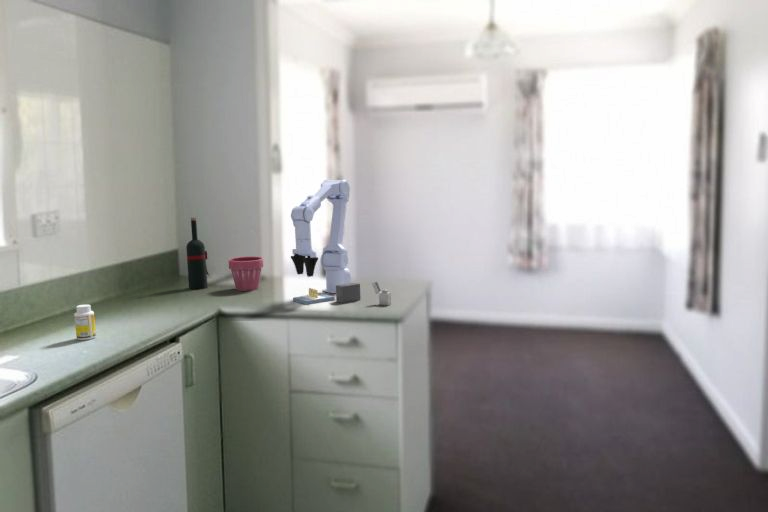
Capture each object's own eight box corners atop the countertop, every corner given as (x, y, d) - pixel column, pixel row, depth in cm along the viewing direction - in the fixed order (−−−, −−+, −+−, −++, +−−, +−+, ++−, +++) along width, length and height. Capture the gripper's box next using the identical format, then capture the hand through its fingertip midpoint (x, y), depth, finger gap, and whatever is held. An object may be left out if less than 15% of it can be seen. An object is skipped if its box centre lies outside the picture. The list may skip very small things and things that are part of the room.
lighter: (391, 304, 252) (390, 282, 251) (388, 305, 250) (387, 283, 249) (375, 302, 256) (374, 280, 255) (372, 303, 254) (371, 281, 253)
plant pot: (270, 289, 292) (268, 258, 290) (238, 293, 284) (236, 262, 282) (256, 284, 304) (254, 255, 302) (225, 288, 296) (223, 258, 294)
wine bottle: (215, 285, 304) (210, 216, 300) (199, 290, 295) (193, 218, 291) (201, 285, 308) (196, 216, 304) (184, 289, 299) (179, 218, 295)
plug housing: (336, 301, 261) (335, 285, 260) (354, 298, 265) (353, 282, 265) (342, 302, 257) (341, 286, 257) (360, 299, 262) (359, 283, 261)
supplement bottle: (90, 335, 220) (87, 303, 219) (99, 337, 217) (96, 305, 215) (73, 339, 216) (70, 306, 215) (82, 341, 212) (79, 308, 211)
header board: (320, 296, 272) (320, 285, 271) (334, 299, 264) (333, 288, 263) (293, 300, 265) (292, 289, 264) (306, 304, 257) (305, 292, 256)
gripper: (284, 238, 264) (286, 274, 266) (303, 241, 252) (305, 278, 254) (301, 236, 268) (303, 272, 270) (320, 239, 256) (322, 276, 258)
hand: (305, 275), depth 262 cm, fingers open, 7 cm apart
